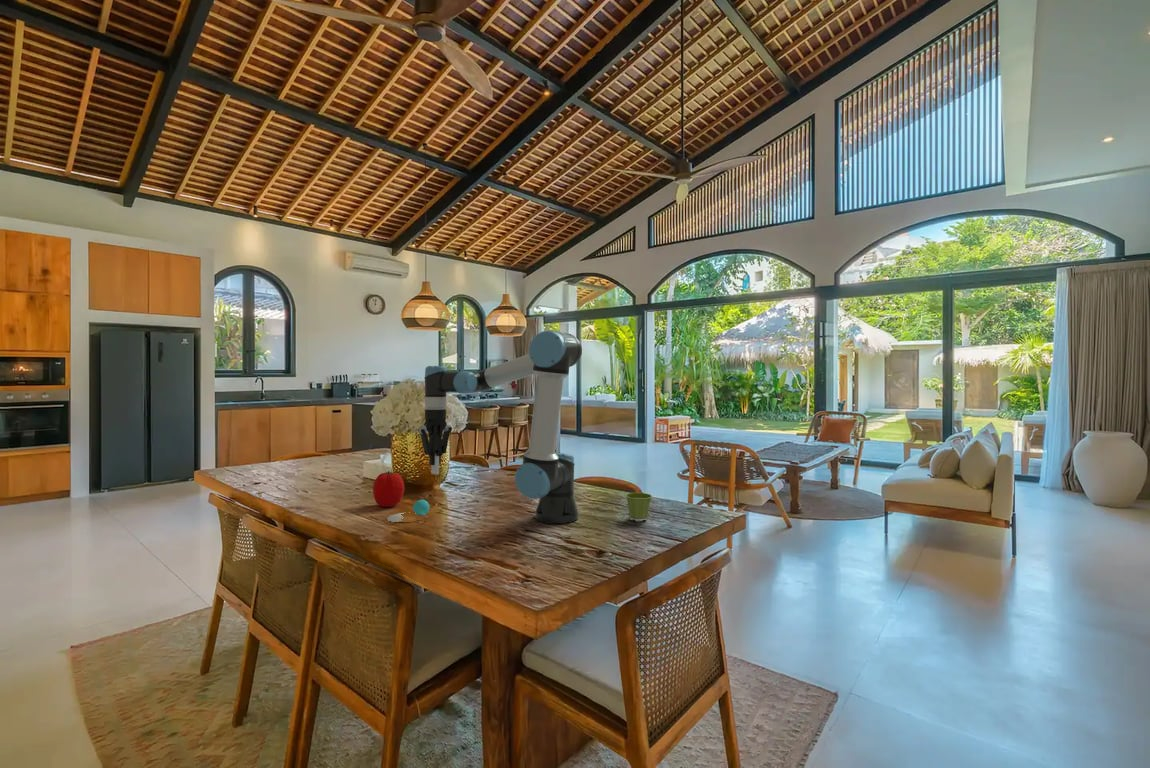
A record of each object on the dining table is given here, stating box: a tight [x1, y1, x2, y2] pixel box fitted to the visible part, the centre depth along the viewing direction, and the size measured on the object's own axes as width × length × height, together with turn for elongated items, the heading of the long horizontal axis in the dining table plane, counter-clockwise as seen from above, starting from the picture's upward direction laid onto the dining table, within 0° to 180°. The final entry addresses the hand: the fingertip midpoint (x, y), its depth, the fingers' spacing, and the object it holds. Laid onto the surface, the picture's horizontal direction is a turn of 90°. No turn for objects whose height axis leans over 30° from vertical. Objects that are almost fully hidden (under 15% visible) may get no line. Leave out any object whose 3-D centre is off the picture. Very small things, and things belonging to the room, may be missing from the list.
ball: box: [412, 499, 430, 516], centre depth 188 cm, size 6×6×6 cm
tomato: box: [372, 470, 406, 508], centre depth 200 cm, size 12×12×13 cm
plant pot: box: [624, 492, 653, 519], centre depth 186 cm, size 9×9×9 cm
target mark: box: [386, 511, 411, 523], centre depth 184 cm, size 13×13×1 cm
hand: (435, 473), depth 192 cm, fingers closed
